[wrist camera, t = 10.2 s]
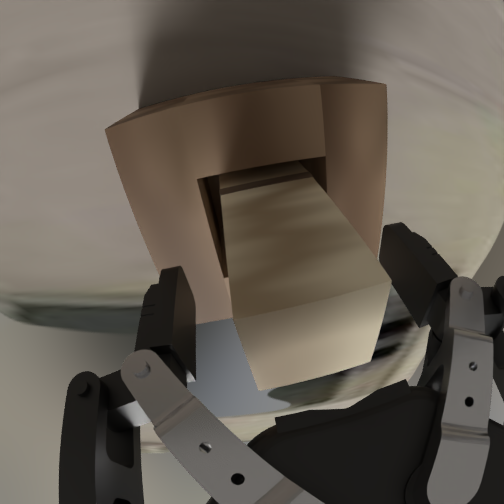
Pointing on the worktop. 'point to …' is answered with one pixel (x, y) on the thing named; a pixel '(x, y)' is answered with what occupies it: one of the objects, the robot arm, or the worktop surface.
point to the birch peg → (297, 276)
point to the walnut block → (247, 165)
